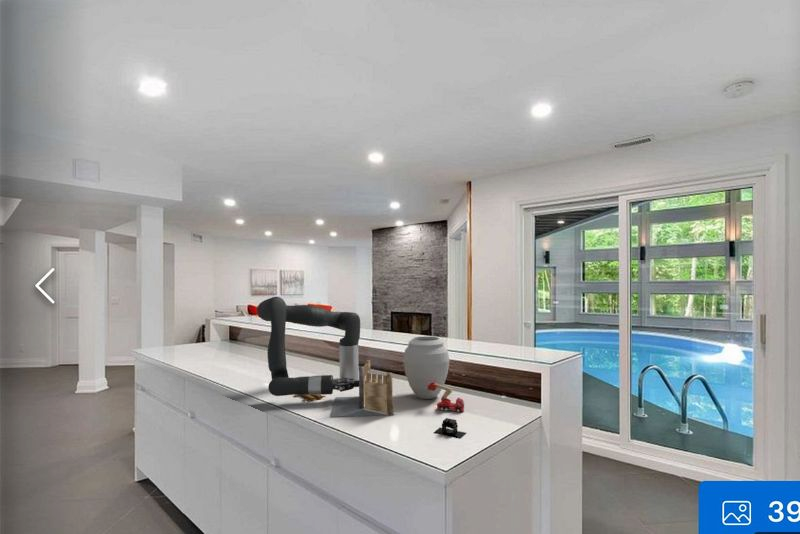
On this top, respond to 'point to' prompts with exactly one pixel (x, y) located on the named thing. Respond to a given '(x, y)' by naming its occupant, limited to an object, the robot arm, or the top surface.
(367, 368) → the fence panel
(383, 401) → the fixed fence
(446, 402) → the toy fire truck
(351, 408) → the mat
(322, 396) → the decorative fence
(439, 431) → the black arched bracket
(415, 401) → the top surface
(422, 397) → the vase
